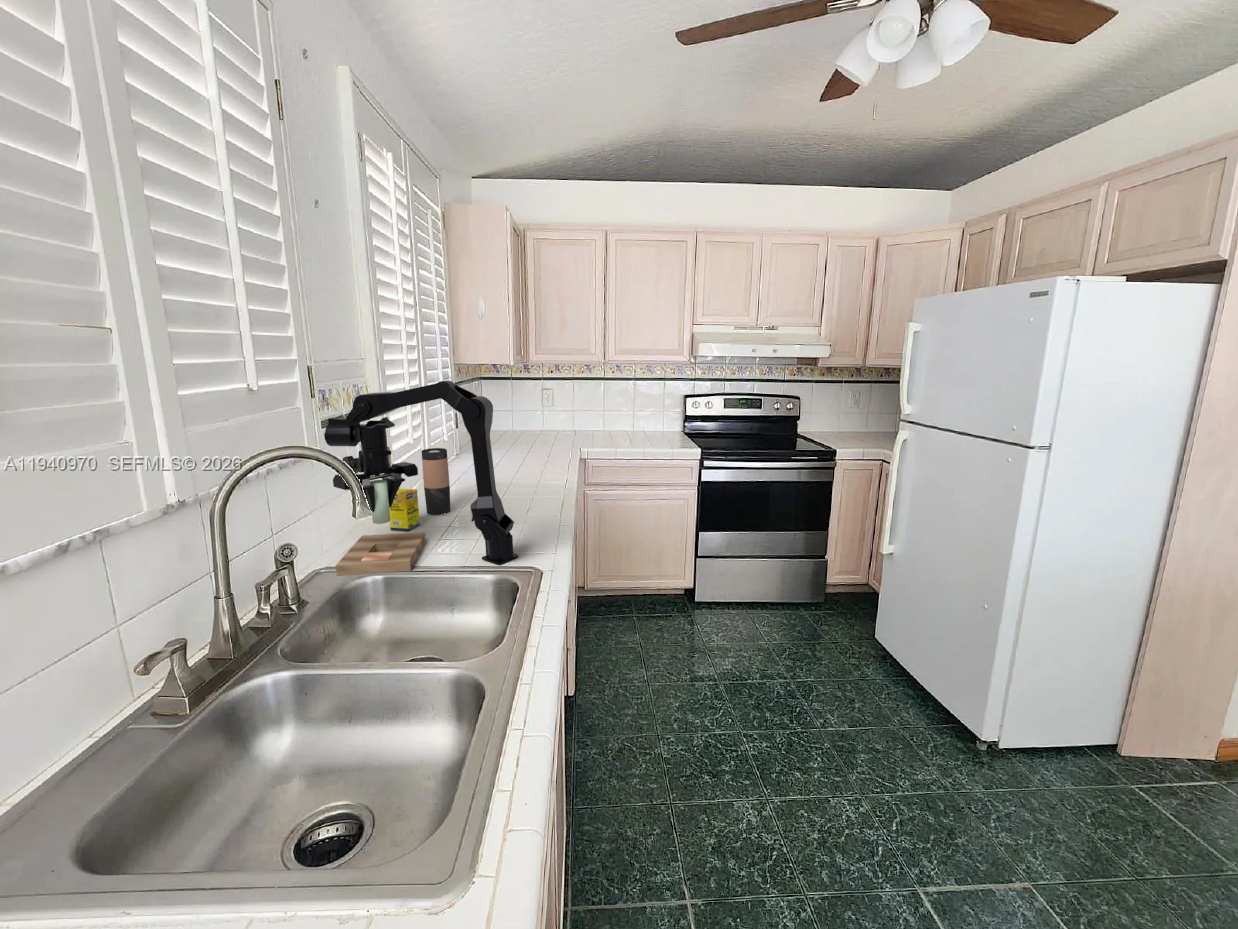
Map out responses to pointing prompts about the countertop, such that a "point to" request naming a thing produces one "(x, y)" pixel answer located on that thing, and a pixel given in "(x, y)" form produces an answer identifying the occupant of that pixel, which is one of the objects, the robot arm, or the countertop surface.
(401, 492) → the supplement box
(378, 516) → the peg
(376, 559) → the hole plate
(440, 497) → the travel mug
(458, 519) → the countertop surface
